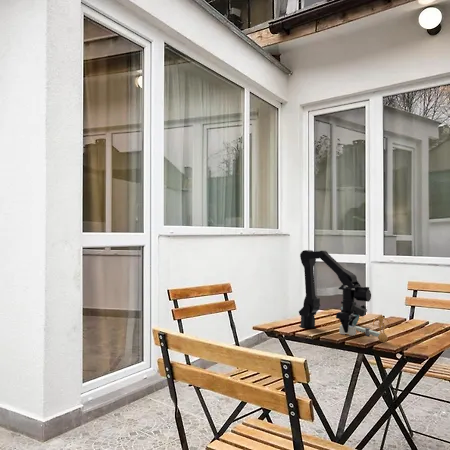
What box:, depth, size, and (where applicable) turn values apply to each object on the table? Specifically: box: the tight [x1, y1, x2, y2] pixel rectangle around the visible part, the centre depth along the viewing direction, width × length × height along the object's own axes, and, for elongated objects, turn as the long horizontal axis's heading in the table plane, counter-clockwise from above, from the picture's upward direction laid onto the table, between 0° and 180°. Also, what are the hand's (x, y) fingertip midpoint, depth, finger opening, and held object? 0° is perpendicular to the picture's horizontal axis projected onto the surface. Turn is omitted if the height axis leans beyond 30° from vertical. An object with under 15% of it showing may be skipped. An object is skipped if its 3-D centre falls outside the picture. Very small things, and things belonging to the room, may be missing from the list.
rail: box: [352, 324, 380, 338], centre depth 230 cm, size 6×20×3 cm, turn 23°
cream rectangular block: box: [338, 324, 357, 336], centre depth 226 cm, size 7×4×4 cm, turn 58°
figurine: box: [372, 314, 391, 343], centre depth 211 cm, size 8×6×12 cm
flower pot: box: [340, 306, 360, 326], centre depth 251 cm, size 9×9×9 cm
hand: (347, 331), depth 226 cm, fingers open, 5 cm apart
